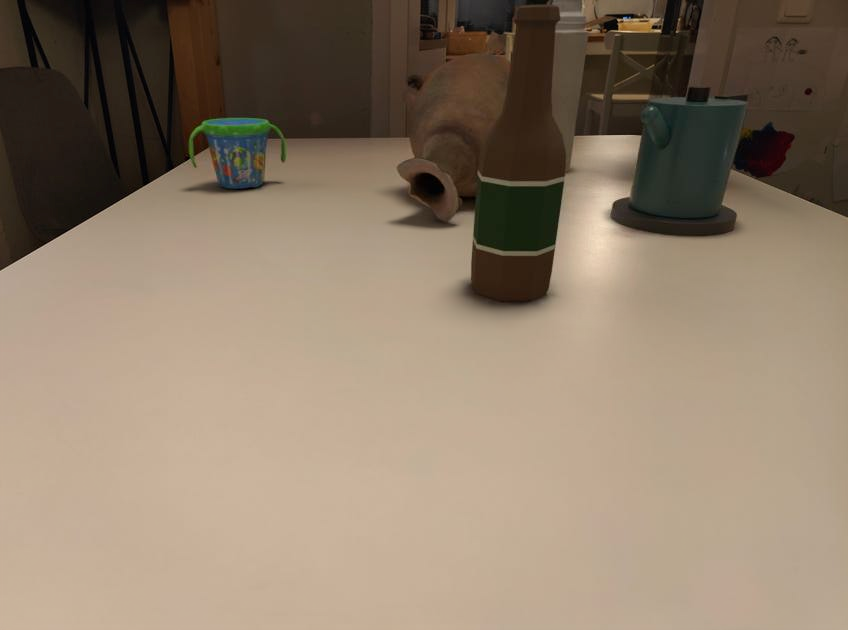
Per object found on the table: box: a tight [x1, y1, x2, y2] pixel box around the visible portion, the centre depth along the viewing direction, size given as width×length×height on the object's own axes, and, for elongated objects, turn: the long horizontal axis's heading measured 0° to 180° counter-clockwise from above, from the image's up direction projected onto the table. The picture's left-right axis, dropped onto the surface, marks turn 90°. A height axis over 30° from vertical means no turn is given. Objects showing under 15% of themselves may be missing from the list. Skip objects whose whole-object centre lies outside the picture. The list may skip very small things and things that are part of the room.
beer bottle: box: [470, 4, 566, 302], centre depth 54 cm, size 8×8×24 cm
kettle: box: [629, 85, 749, 218], centre depth 78 cm, size 21×11×15 cm, turn 123°
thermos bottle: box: [551, 0, 589, 173], centre depth 106 cm, size 8×8×28 cm
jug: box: [396, 52, 511, 223], centre depth 88 cm, size 20×20×30 cm
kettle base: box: [610, 196, 738, 237], centre depth 81 cm, size 15×15×2 cm
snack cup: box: [188, 117, 287, 190], centre depth 100 cm, size 16×10×10 cm
